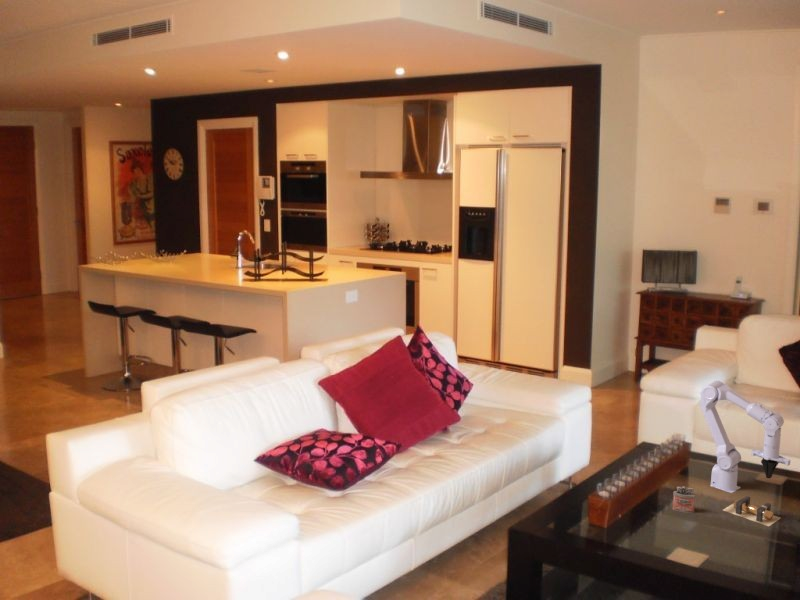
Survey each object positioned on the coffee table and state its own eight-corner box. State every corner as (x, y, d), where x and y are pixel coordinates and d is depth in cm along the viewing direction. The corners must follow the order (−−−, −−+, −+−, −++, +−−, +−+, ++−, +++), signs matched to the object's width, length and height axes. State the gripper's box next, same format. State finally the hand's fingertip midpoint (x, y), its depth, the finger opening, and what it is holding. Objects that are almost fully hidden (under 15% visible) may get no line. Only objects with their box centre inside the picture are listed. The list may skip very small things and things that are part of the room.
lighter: (671, 511, 321) (673, 487, 319) (672, 508, 324) (674, 483, 322) (694, 515, 318) (695, 490, 316) (694, 511, 321) (696, 487, 319)
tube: (732, 507, 321) (734, 499, 322) (735, 508, 323) (738, 500, 324) (768, 519, 311) (771, 511, 311) (771, 520, 313) (774, 512, 313)
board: (722, 511, 321) (723, 498, 320) (734, 503, 327) (735, 491, 326) (768, 527, 307) (769, 514, 306) (781, 519, 314) (782, 506, 313)
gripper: (748, 442, 328) (746, 474, 331) (785, 452, 318) (782, 486, 320) (757, 437, 333) (754, 469, 336) (793, 447, 322) (790, 480, 325)
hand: (768, 477), depth 328 cm, fingers closed
